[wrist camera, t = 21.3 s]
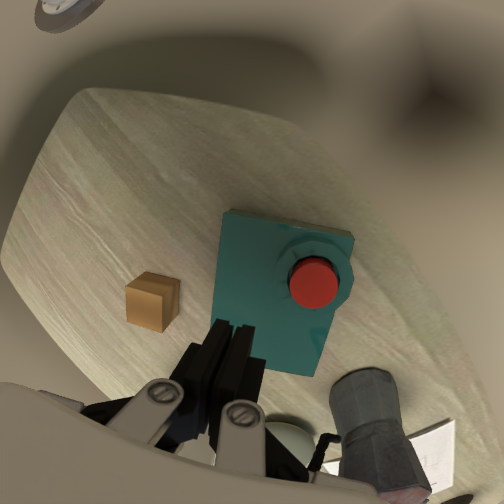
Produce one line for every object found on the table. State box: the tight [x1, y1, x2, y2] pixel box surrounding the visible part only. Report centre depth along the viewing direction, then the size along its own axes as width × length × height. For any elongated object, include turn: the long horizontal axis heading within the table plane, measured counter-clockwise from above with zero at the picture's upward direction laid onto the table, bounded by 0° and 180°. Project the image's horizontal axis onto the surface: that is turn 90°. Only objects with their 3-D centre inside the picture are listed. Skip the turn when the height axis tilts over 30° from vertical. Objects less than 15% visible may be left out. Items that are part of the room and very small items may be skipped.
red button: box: [290, 258, 338, 309], centre depth 25 cm, size 4×4×2 cm
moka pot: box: [307, 369, 432, 504], centre depth 24 cm, size 10×15×20 cm, turn 72°
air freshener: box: [265, 422, 315, 466], centre depth 33 cm, size 11×8×10 cm
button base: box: [210, 209, 355, 377], centre depth 29 cm, size 16×12×4 cm
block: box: [125, 272, 180, 333], centre depth 31 cm, size 4×4×4 cm
